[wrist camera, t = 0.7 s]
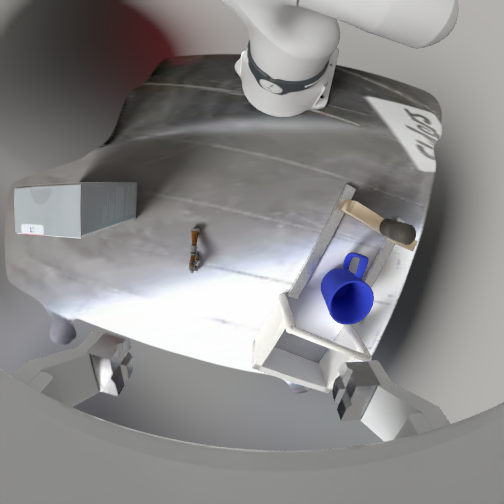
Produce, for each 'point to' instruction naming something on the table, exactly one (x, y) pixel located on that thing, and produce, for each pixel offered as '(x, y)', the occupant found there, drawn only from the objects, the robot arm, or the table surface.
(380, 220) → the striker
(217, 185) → the table surface
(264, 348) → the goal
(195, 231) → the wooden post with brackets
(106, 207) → the hard drive box
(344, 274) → the mug
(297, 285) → the rails
